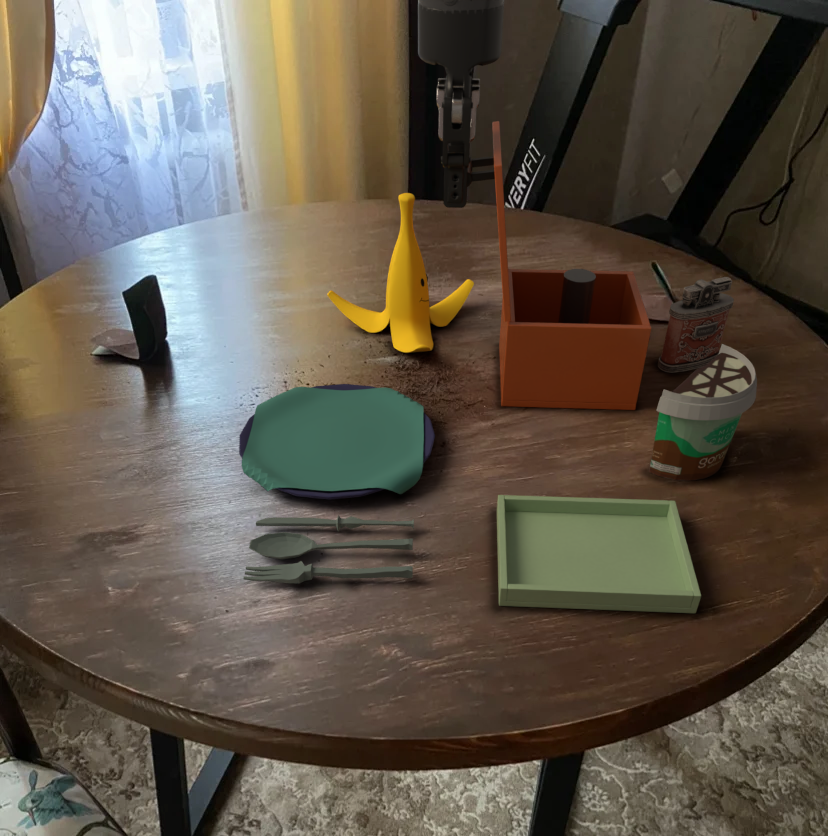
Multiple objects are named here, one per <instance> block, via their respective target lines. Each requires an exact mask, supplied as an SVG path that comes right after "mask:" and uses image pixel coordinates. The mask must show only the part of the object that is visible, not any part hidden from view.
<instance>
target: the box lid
mask: <svg viewBox="0 0 828 836" xmlns="http://www.w3.org/2000/svg"><path fill="white" fill-rule="evenodd" d="M500 125H501V124H500V121H499V120H497V121H492V146H493V155H489V156H483V157H475V158H474V157H473V158H472V157H471V155H469V157H471V163H470V164H469V168H468V171H467V188H468V187H470V186H471V185H472V182H480V181H481V182H483V181H489V180H494V184H495V201H496V215H497V230H498V247H499V262H500V277H501V278H500V279H501V291H502V299H503V308H504V321H505V322H506V321H511V308H510V292H509V275H508V269H509V262H508V261H509V259H508V245H507V244H508V243H507V227H506V212H505V209H506V208H505V194H504V178H503V162H502V161H503V160H502V143H501V126H500ZM490 166H491V167H492V166H493V168H494V169H487V170H478V171H473V168H480V167H490Z"/></svg>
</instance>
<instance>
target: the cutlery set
mask: <svg viewBox="0 0 828 836" xmlns="http://www.w3.org/2000/svg"><path fill="white" fill-rule="evenodd" d="M435 438H436V434H435V431H434V428H433V423H432V420H431V418H430V417H429V416H428V415H427V414H426V412H425V411H424V405H422V404H421V403H420V402H418V401H416V400H414V399H412V398H410V397H408V396H407V395H405V394H403V393H401V392H400V391H398V390H395V389H394V388H391V387H376V386H372V385H364V384H363V385H361V384H350V383H339V384H338V383H337V384H326V385H316V386H312V387H310V386H295V387H293V388H289V390H286V391H284V392H281V393H279V394H276V395H275V396H272V397H270V398H269V399H267V400H265V401H263V402H261V403H259V404H257V405H256V407H255V411H254V414H253V415H251V416H250V417H249V418H248V420H247V421H246V423H245V425H244V426H243V428H242V430H241V432H240V434H239V441H238V442H239V444H238V451H239V452H238V454H239V456H240V458H241V469H242V472H243V474H244V475H245V476H246V477H248V478H249V479H252V480H253V481H254V482H255V483H257V484H258V485H260V486H261V487H262V488H263V489H264V490H265V491H266V492H269V491H270V490H273V489H275V490H278V491H280V492H283V493H286V494H290V495H292V496H295V497H301V498H309V499H321V500H340V499H348V498H361V497H364V496H368V495H372V494H375V493H377V492H381V491H384V490H388V491H391V492H394V493H397V494H398V495H403V494H405V493H406V492H407V491H409V490H410V489H412V488H413V487H414V486H415V485H416V484H417V483H418V481H419V480H420V479H421V476H422V474H423V468H424V464H425V463H426V461H427V460H428V459H429V458H430V457H431V453H432V449H433V446H434V442H435ZM255 526H256V527H330V528H331V527H334V528H335V527H336V530H337V532H338V533H339V532H340V530H341V529H342V528H348V529H350V530H352V529H356V528H360V527H362V526H394V527H395V526H396V527H411V528H412V530H414V529H415V519H412V520H395V521H394V520H392V521H390V520H389V521H388V520H379V519H362V518H358V517H355V516H352V515H351V516H348V517H346V518H344V517H343V518H342V517H341V516H340V515H339V514H338V515H337V518H336V519H329V518H321V517H320V518H319V517H297V516H295V517H294V516H292V517H286V516H285V517H284V516H283V517H279V516H278V517H277V516H275V517H266V518H263V519H259V520H257V521H255ZM413 541H414V539H413V538H398V539H397V538H396V539H395V538H393V539H368V540H367V539H365V540H353V541H342V542H341V541H339V542H329V543H320V544H319V543H316V541H314V540H313V539H312V538H310V537H307V536H306V535H305V534H302V533H295V532H289V531H287V532H286V531H282V532H272V533H265V534H263V535H259V536H257V537H255V538H253V539H250V542H249V544H248V545H249V546H248V549H249V550H251V551H253V552H255V553H257V554H259V555H261V556H263V557H265V558H270V559H278V560H287V559H294V558H299V557H301V556H303V555H305V554H307V553H309V552H312V551H318V550H349V549H350V550H351V549H375V550H376V549H377V550H381V549H382V550H399V551H400V550H403V551H413V550H414V547H413V545H414V542H413ZM413 573H414V572H413V565H405V566H380V567H361V568H338V567H317V566H316V567H315V566H314V565H313V563H310V564H307V565H305V564H304V563H303V561H302V560H300V561H298V562H295V563H285V564H274V565H266V566H265V565H264V566H245V571H244V576H243V581H244V580H246V581H251V582H273V583H282V584H285V583H286V584H301V583H303V582H306V581H311V580H313V578H314V577H325V578H327V577H328V578H337V579H381V578H382V579H384V578H394V579H395V578H399V579H400V578H401V579H413V576H414V575H413ZM245 575H246V576H245Z"/></svg>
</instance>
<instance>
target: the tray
mask: <svg viewBox="0 0 828 836" xmlns="http://www.w3.org/2000/svg"><path fill="white" fill-rule="evenodd" d="M496 538H497V539H496V541H497V542H496V545H497V580H498V581H497V582H498V584H497V585H498V588H497V589H498V607H499V606H500V607H518V608H519V607H521V608H548V609H572V610H573V609H574V610H575V609H577V610H596V611H597V610H598V611H626V612H646V613H647V612H648V613H649V612H651V613H674V614H675V613H676V614H677V613H678V614H697V611H698V608H699V605H700V601H701V598H702V594H701V590H700V586H699V582H698V579H697V575H696V572H695V567H694V564H693V560H692V557H691V553H690V549H689V546H688V542H687V538H686V535H685V532H684V528H683V524H682V520H681V516H680V514H679V509H678V505H677V502H676V500H667V499H665V500H664V499H638V498H637V499H635V498H608V497H575V496H574V497H573V496H547V495H546V496H545V495H544V496H543V495H518V494H517V495H516V494H498V495H497V502H496Z"/></svg>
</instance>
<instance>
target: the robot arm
mask: <svg viewBox="0 0 828 836" xmlns="http://www.w3.org/2000/svg"><path fill="white" fill-rule="evenodd" d="M504 11H505V0H417V54H418V57H419V58H420V59H421V60H422V61H423V62H425V63H426V64H429V65H432V66H442V67H443V68H444V70H445V77H443V78H442V77H441V78H440V77H439V78H437V85H436V106H437V108H438V130H437V131H438V138H439V141H441V142H442V156H440V163H441V164H442V167H443V169H444V170H443V205H444V207H445V208H449V209H455V208H456V209H462V208H464V207H466V205H467V198H468V197H467V195H468V194H467V193H468V187H467V171H468V168H469V164H470V163H471V158H472V157H471V156H470V147H471V145H470V144H471V143H472V142H473V141H474V140H475V139H476V128H477V109H478V108H479V106H480V100H481V99H480V96H481V94H480V93H481V85H480V84H481V79H480V78H473V74H474V71H475V67H477V66H481V67H484V66H488V65H491V64H493V63H495V62H497V61H498V60H499V59H500V57H501V55H502V49H503V48H502V46H503V28H504V13H505V12H504ZM469 156H470V157H469Z"/></svg>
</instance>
